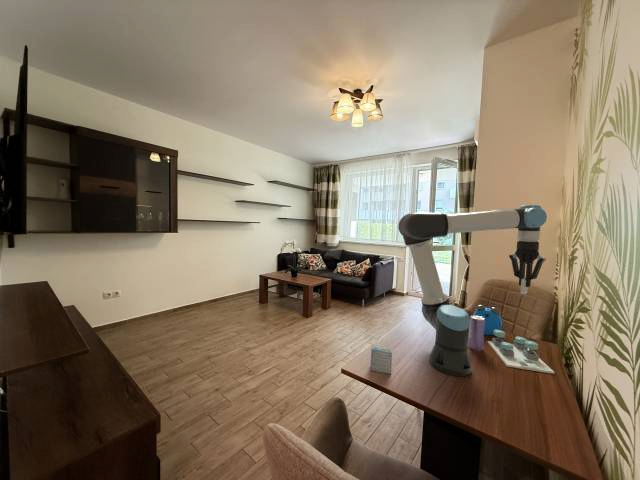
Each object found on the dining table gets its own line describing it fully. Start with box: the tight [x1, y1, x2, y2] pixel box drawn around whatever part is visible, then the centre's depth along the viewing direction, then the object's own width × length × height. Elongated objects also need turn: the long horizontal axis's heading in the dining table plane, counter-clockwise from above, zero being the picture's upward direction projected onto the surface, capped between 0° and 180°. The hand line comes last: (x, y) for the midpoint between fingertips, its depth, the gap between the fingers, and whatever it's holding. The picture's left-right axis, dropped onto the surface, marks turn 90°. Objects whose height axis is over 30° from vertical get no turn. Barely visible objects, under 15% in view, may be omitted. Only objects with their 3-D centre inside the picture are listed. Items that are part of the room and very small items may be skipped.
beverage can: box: [467, 314, 485, 352], centre depth 118 cm, size 6×6×15 cm
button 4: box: [514, 335, 528, 345], centre depth 119 cm, size 4×4×4 cm
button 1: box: [501, 341, 513, 351], centre depth 112 cm, size 4×4×4 cm
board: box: [487, 337, 555, 375], centre depth 112 cm, size 16×22×3 cm
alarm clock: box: [473, 304, 503, 336], centre depth 135 cm, size 13×6×15 cm, turn 53°
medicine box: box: [369, 344, 393, 375], centre depth 99 cm, size 8×4×9 cm, turn 74°
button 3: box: [494, 330, 506, 340], centre depth 121 cm, size 4×4×4 cm
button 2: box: [525, 340, 539, 353], centre depth 110 cm, size 4×4×4 cm
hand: (523, 293), depth 112 cm, fingers closed
